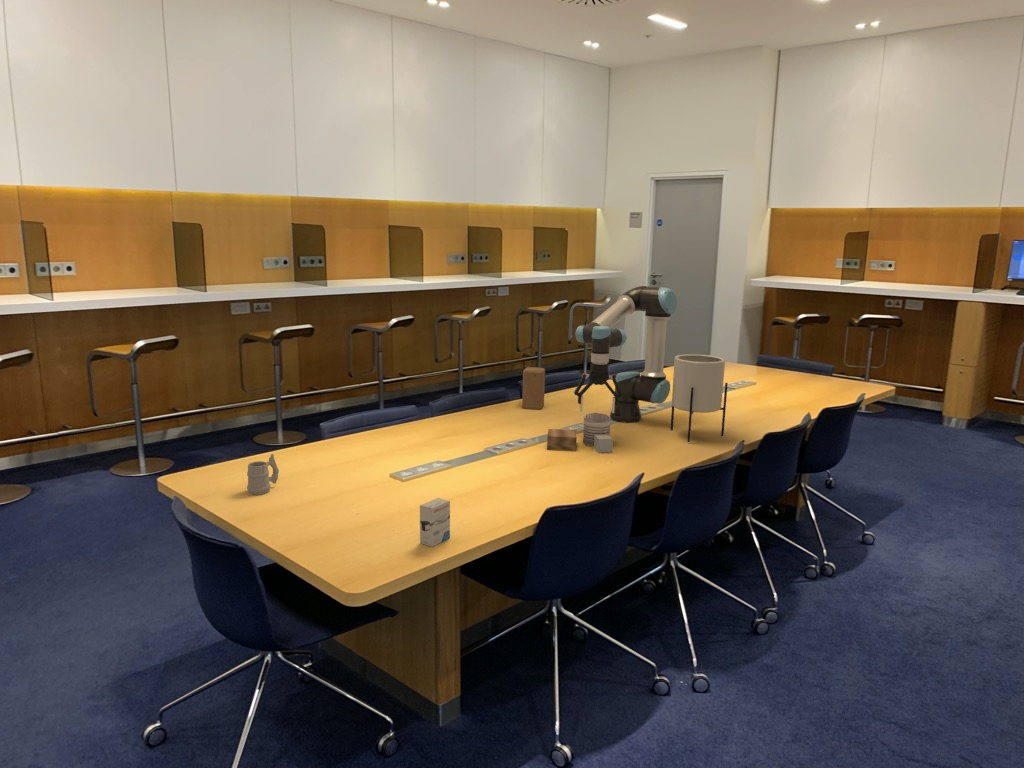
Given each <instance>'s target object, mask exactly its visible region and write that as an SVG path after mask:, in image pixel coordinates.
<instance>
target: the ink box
mask: <svg viewBox="0 0 1024 768" xmlns="http://www.w3.org/2000/svg"><path fill="white" fill-rule="evenodd" d="M450 538H451V501H450V500H448V499H445V498H444V499H443V498H440V497H437V498H435V499H433V500H430V501H427V502H424V503H423V504H419V544H422V545H425V546H428V547H431V548H433V547H435V546H437V545H439V544H440V543H442V542H444V541H446V540H448V539H450Z"/></svg>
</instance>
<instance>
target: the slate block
mask: <svg viewBox="0 0 1024 768" xmlns="http://www.w3.org/2000/svg"><path fill="white" fill-rule="evenodd" d="M613 445H614V438H613V437H612V436H611V435H610V436H609V435H594V447H593V450H594V449H595V450H594V451H596V452H597V453H598V454H605V453H606V452H610V453H613V450H614V449H613V448H614V446H613Z"/></svg>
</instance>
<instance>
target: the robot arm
mask: <svg viewBox="0 0 1024 768" xmlns="http://www.w3.org/2000/svg"><path fill="white" fill-rule="evenodd" d="M677 304H678V302H677V295H676V294H675V292H674V290H673V289H671V288H669V287H664V286H646V285H641V286H635V287H633V288H631V289H629V290H627V291H625V292H624V293H623V294H621V295H620V296H619V297H618V298H617V299H616V302H615V303H614V304H613V303H612V305H611V306H610V307H609V308H607V309H606V310H604V311H603V312H602V313H601V314H600V315H599V316H598V317H596V318H595V319H593V320H592V321H591V322H590V323H589V324H587V325H585V324H584V325H579V326H577V328H576V330H575V334H574V335H575V339H576V341H577V342H579V343H583V344H588V345H591V353H590V362H591V363H590V371H589V374H588V373H585V372H584V373H582V377H581V380H580V381H579V383H578V385H577V386H576V388H575V390H574V392H573V394H574V395H575V396H577V403H578V405H579V411H580V413H583V408H584V407H583V405H584V404H583V403H584V401H583V399H584V396H583V395H584V394H585V393H586V392H587V391H588V390H589V388H591V386H593V385H594V386H598V385H599V386H603V385H605V386H606V388H607V389H608V390H609V391H610V393H611V394H612V396H613V397H612V402H611V403H612V404H611V411H610V413H609V414H610V415H609V417H611V419H610V420H612V421H615V422H618V423H631V424H632V423H638V422H641V421H642V411H641V408H640V404H639V403H640V402H647V403H651V404H658V405H660V404H663V403H665V402H666V400H667V399H668V397H669V395H670V392H671V384H670V383H671V382H670V381H669V380H668V379H667V374H666V373H665V372H664V366H665V351H666V340H667V339H666V336H667V323H668V320H670V318H671V315H673V314H674V313H675V312H676V309H677V306H678V305H677ZM634 312H645V314H644V316H645V318H646V319H647V330H646V331H647V333H646V346H645V359H644V360H645V361H644V370H643V371H642V372H639V371H625V372H623V371H622V372H619V373H617V374H616V375H615V374H614V373H612V374H609V366H610V365H609V362H610V348H618V347H621V346H623V345H624V344H625V343H626V342H627V333H626V332H625V331H624V330H623V329H622V328H613V327H614V326H615V325H616V324H617V323H619V322H620V321H621V320H622V319H623V318H625V317H626V316H627V315H631V314H632V313H634ZM588 378H589V382H587V384H586V385H584V383H585V381H586V380H588ZM609 379H610V380H611V381H612V382H613V385H614V389H613V387H612V386H611V385H610V384H609V383H608V380H609ZM583 385H584V387H583V388H582V386H583ZM581 388H582V389H581Z"/></svg>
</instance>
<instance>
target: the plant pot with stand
mask: <svg viewBox="0 0 1024 768" xmlns="http://www.w3.org/2000/svg"><path fill="white" fill-rule="evenodd" d="M725 368H726V359H724V358H722V357H720V356H715V355H709V354H708V355H707V354H697V353H696V354H695V353H694V354H678V355H676V356H674V359H673V378H672V393H671V395H672V396H671V416H670V417H671V418H670V431H673V430H674V415H675V409H677V410H680V411H683V412H689V416H688V427H687V431H688V433H687V442H691V427H692V417H693V414H694V413H704V414H705V413H715V412H718V411H722V418H721V419H722V422H721V430H720V431H721V435H720V437H722V436H723V437H724V432H725V423H726V422H725V421H726V420H725V419H726V408H727V397H728V396H727V395H728V394H727V393H728V382H725V384H724V378H725ZM723 390H724V391H723ZM723 392H724V397H723ZM722 401H723V402H722ZM722 403H723V407H722Z"/></svg>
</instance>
